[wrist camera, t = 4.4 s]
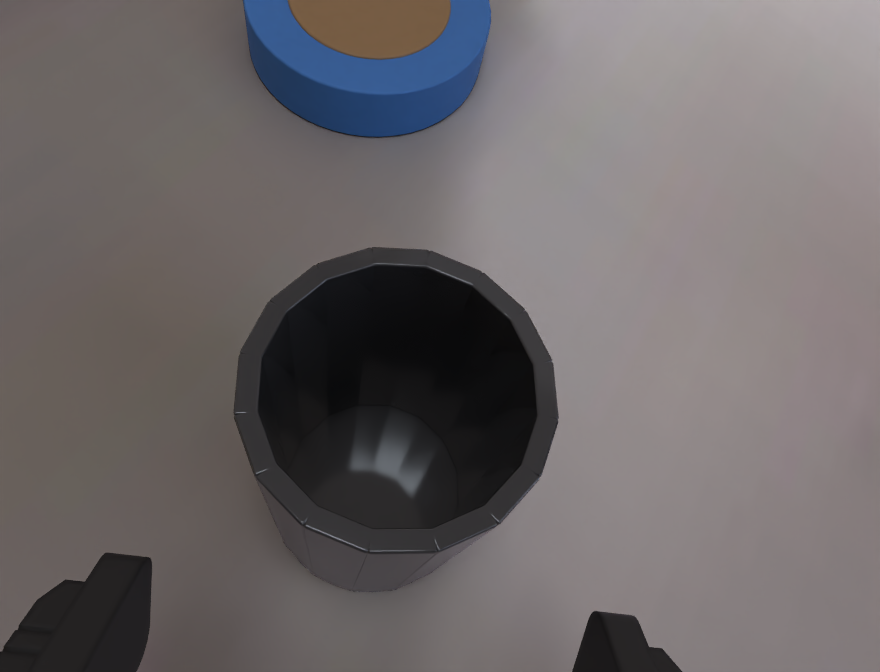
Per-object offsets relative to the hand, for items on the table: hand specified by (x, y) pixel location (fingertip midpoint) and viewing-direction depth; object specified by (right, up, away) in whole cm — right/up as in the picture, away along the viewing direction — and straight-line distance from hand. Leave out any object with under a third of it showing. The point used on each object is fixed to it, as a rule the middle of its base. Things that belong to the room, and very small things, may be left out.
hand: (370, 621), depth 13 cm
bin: (-1, 0, +10) cm, 10 cm away
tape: (-2, +18, +18) cm, 25 cm away
